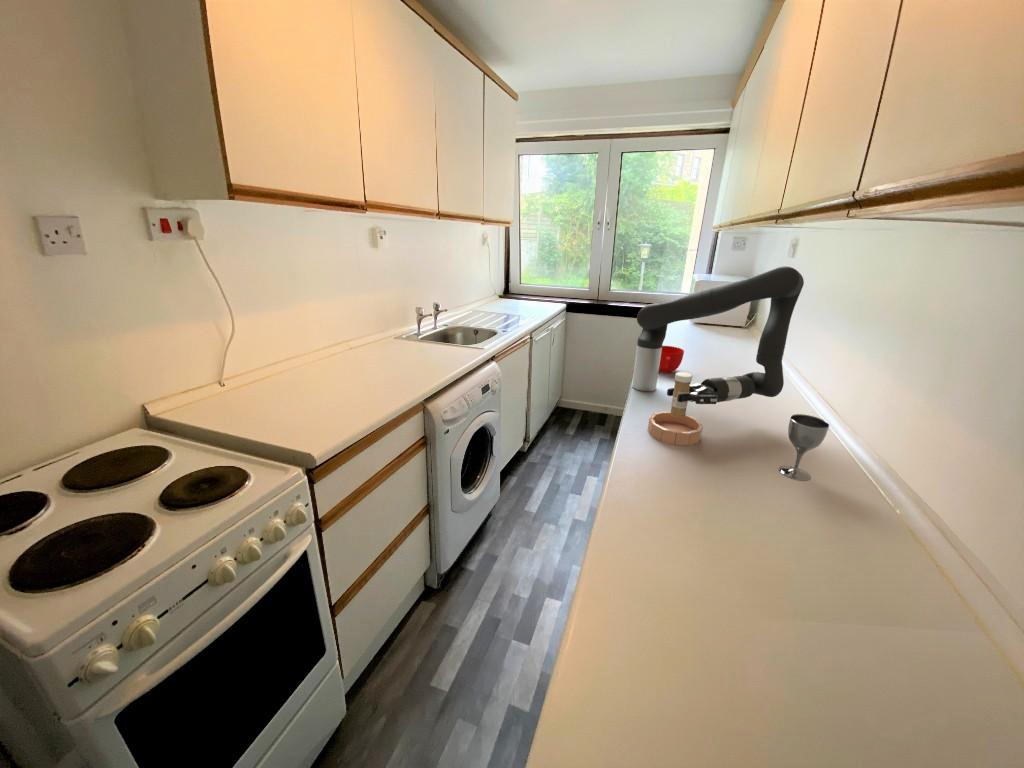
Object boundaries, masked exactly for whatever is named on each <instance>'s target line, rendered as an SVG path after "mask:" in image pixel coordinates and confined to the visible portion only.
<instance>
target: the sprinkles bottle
mask: <svg viewBox="0 0 1024 768" xmlns="http://www.w3.org/2000/svg"><path fill="white" fill-rule="evenodd" d="M692 380H693V375H692V374H691V373H689V372H684V371H678V372H675V375H674V387H673V388H674V392H673V396H672V399H671V409H670V411H669V412H670V415H671V416H672V417H675V418H684V417H685V416H686V415H687V413H686V412H687V408H688V402H689V401H685V402H678V401H677V398H678V395H679V394H686V393H689V389H690V385H691V383H692Z"/></svg>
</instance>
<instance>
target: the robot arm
mask: <svg viewBox="0 0 1024 768" xmlns="http://www.w3.org/2000/svg"><path fill="white" fill-rule="evenodd" d="M804 283H805V281H804V277H803V275H802V274H801V273H800V272H799V271H798V270H797V269H795V268H794V267H791V266H779V267H778V266H777V267H775V268H773V269H770V270H767V271H766V272H762V273H760V274H757V275H754V276H751V277H748V278H745V279H742V280H738V281H737V280H736V281H732V282H727V283H723V284H720V285H715V286H711V287H708V288H705V289H701V290H698V291H695V292H692V293H689V294H687V295H684V296H683V297H680V298H678V299H675V300H672V301H668V302H663V303H660V302H654V303H651V304H647V305H645V306H643V307H642V308H641V309H640V310H639V311H638V313H637V314H636V315H637V316H636V322H637V324H638V325H639V327H640V328H642V329H641V333H640V335H639V336H638V338H637V343H636V351H635V359H634V368H633V377H632V384H631V387H632V388H633V389H635V390H637V391H642V392H653V391H656V390H657V385H658V378H659V373H660V372H659V365H660V358H661V351H662V346H664V345H663V344H664V341H665V339H666V336H667V330H668V325H669V324H672V323H676V322H680V321H687V320H694V319H700V318H705V317H711V316H715V315H719V314H722V313H726V312H728V311H731V310H734V309H736V308H739V307H741V306H742V305H744V304H748V303H751V302H755V301H759V300H760V301H761V300H764V299H766V300H767V299H770V306H769V307H770V308H769V313H768V317H767V319H766V322H765V326H764V328H763V330H762V331H761V332H762V333H761V335H760V338H759V342H758V347H757V351H756V357H755V361H756V363H757V364H758V365H760V366H762V367H763V368H764V372H760V371H758V372H757V371H755V372H753V371H752V372H749V373H745V374H743V375H737V376H721V377H714V378H713V377H711V378H710V377H709V378H705V379H704V380H703V381H702V382H700V383H694V384H690V389H689V393H686V394H679V395H678V398H677V401H678V402H685V401H688V402H690V403H694V402H695V403H694V404H697V405H716V404H717V403H725V402H730V401H733V400H738V399H746V398H749V397H751V396H752V395H753V394H755V395H759V396H763V397H768V398H774V397H777V396H778V395H780V393H781V392H782V390H783V388H784V382H785V381H784V380H785V379H784V372H783V371H784V370H783V369H784V368H783V357H784V353H785V348H786V345H787V343H786V342H787V338H788V332H789V328H790V324H791V319H792V315H793V313H794V310H795V307H796V304H797V302H798V299H799V297H800V294H801V292H802V289H803V287H804ZM673 392H674V387H670V388H667V390H666V395H667V396H669V397H673Z"/></svg>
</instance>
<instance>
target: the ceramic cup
mask: <svg viewBox="0 0 1024 768" xmlns="http://www.w3.org/2000/svg"><path fill="white" fill-rule="evenodd" d="M684 353H685V350H684V349H682V348H680V347H678V346H677V347H676V346H671V345H662V351H661V358H660V365H659V372H658V373H662V372H663V373H662V374H672V372H673V373H674V372H675V371H676V370H677V369H678V368H679V367H680V366H681V364H682V362H683V358H684Z"/></svg>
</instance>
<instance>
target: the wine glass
mask: <svg viewBox="0 0 1024 768" xmlns="http://www.w3.org/2000/svg"><path fill="white" fill-rule="evenodd" d="M788 422H789V423H788V431H787V433H788V434H787V436H788V439H789V441H790V443H791V444H792V446H793V447H794V449H795V451H796V457H795V458H796V459H795V463H794V466H793V465H781V466H779V467H778V471H779V472H780V474H782V475H783V476H784V477H787V478H789V479H793V480H796V481H800V482H804V481H805V482H807V481H809V480H811V478H812V476H811V474H810V473H809V472H808V471H806V470H805V469H802V468H799V465H800V462H801V460H802V458H803V456H804V455H805V454H806V453H808V452H809V451H811V450H814V449H816V448H818V447H819V446H820V445H821V444H822V443H823V441H824V440H825V438H826V436H827V433H828V430H829V428H830V424H829V422H827V421H826V420H825V419H822V418H819V417H817V416H814V415H808V414H801V413H799V414H798V413H797V414H792V415H791V416H790V418H789V421H788Z"/></svg>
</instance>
